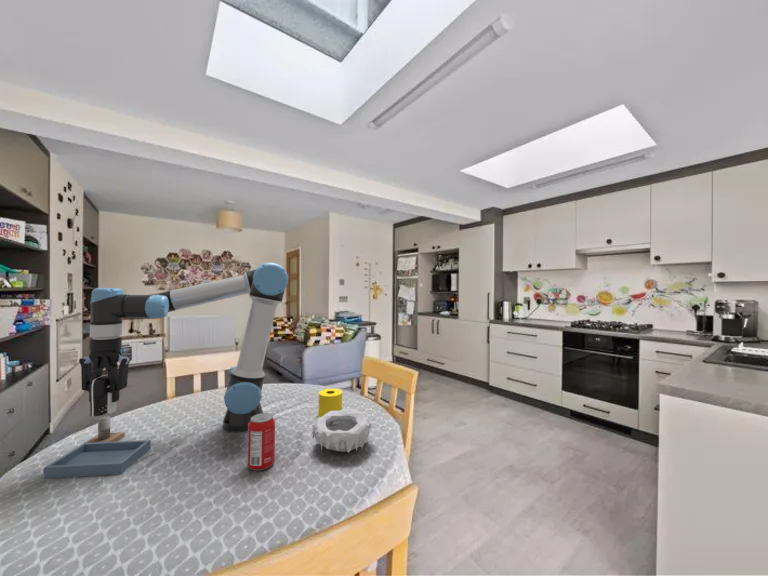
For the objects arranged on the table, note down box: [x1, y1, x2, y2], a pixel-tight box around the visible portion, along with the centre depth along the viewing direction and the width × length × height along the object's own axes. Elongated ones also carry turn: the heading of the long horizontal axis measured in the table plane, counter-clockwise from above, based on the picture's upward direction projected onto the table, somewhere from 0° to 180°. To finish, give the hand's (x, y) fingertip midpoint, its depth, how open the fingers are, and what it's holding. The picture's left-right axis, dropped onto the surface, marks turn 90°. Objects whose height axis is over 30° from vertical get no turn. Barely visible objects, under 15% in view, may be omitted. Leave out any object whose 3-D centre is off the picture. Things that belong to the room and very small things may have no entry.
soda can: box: [247, 412, 276, 471], centre depth 97 cm, size 8×8×15 cm
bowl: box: [311, 408, 372, 454], centre depth 109 cm, size 21×20×10 cm
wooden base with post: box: [84, 415, 126, 443], centre depth 109 cm, size 8×8×9 cm
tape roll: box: [318, 388, 343, 417], centre depth 136 cm, size 10×10×9 cm
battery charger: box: [89, 374, 111, 418], centre depth 98 cm, size 7×4×11 cm, turn 6°
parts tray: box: [43, 439, 152, 479], centre depth 97 cm, size 20×14×3 cm
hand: (103, 412), depth 98 cm, fingers closed on battery charger, 4 cm apart
